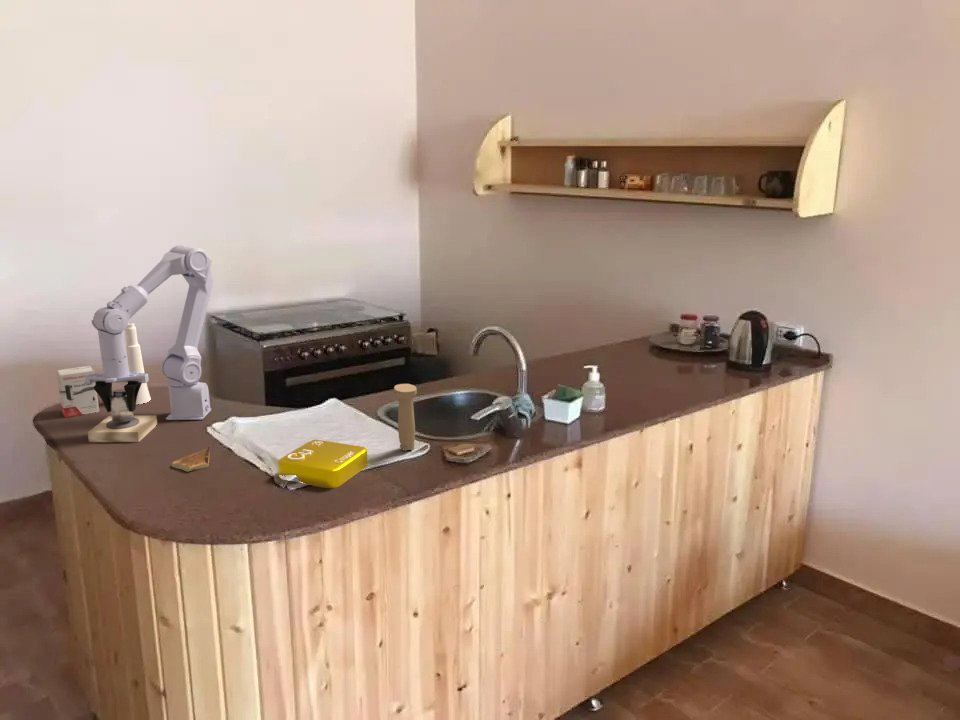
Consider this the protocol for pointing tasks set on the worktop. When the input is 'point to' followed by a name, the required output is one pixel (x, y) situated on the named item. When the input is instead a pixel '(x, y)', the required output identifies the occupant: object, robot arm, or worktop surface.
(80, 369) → the ink box
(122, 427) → the stand
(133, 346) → the cosmetic bottle
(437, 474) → the worktop surface
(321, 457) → the element tile
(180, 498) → the worktop surface
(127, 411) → the cylinder
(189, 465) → the shard
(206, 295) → the robot arm
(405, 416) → the handle
